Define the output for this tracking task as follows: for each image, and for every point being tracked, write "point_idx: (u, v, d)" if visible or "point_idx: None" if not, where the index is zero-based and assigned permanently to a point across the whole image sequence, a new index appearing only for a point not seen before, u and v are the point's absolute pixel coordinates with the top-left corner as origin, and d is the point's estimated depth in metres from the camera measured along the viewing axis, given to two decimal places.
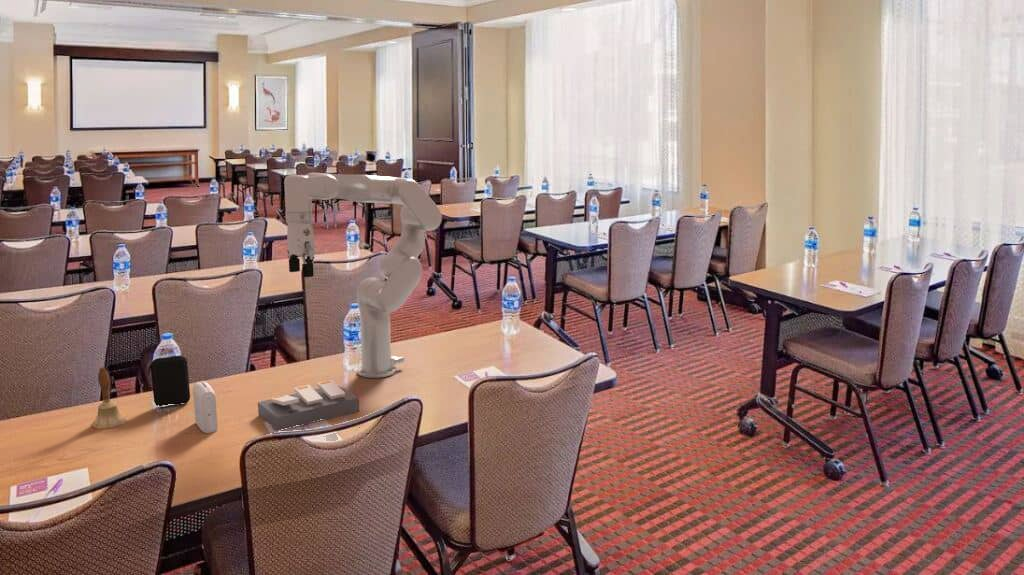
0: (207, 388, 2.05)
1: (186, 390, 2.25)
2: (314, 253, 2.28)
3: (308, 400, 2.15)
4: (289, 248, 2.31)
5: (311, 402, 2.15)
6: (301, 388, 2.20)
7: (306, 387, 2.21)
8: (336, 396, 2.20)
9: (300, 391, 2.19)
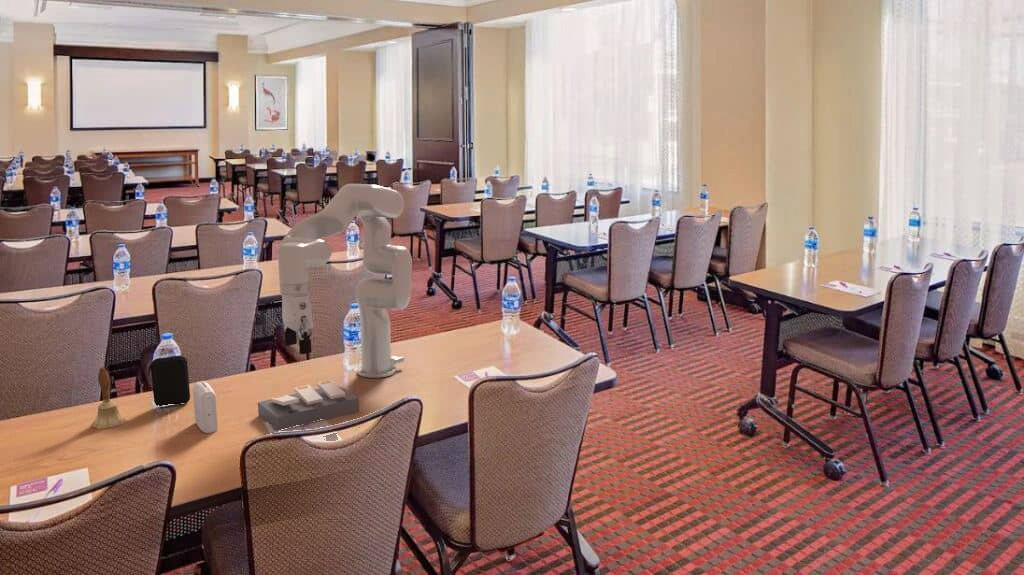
0: (207, 388, 2.05)
1: (186, 390, 2.25)
2: (312, 327, 2.09)
3: (308, 400, 2.15)
4: (284, 321, 2.13)
5: (311, 402, 2.15)
6: (301, 388, 2.20)
7: (306, 387, 2.21)
8: (336, 396, 2.20)
9: (300, 391, 2.19)
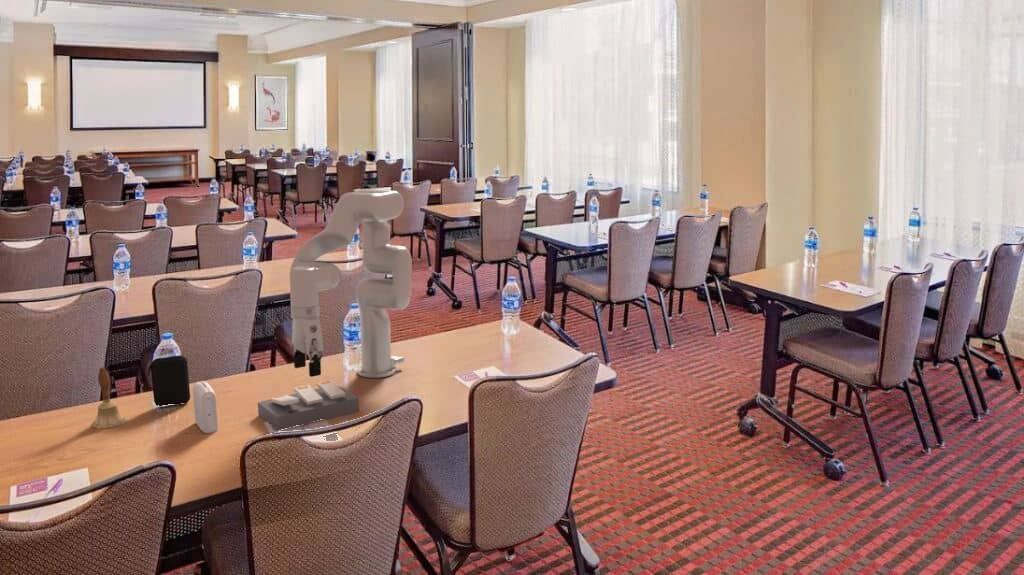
0: (207, 388, 2.05)
1: (186, 390, 2.25)
2: (321, 350, 2.12)
3: (308, 400, 2.15)
4: (294, 344, 2.15)
5: (311, 402, 2.15)
6: (301, 388, 2.20)
7: (306, 387, 2.21)
8: (336, 396, 2.20)
9: (300, 391, 2.19)
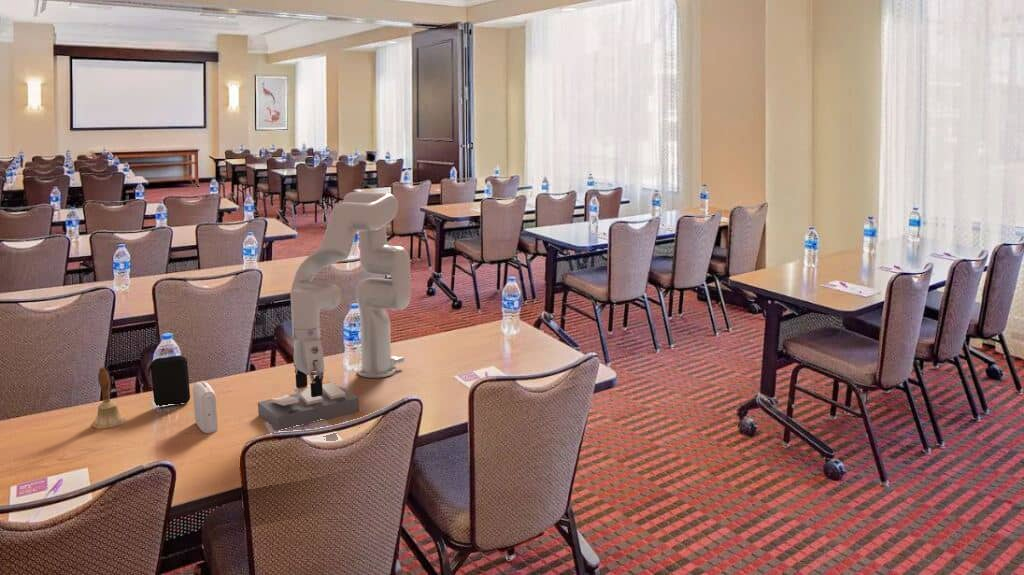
0: (207, 388, 2.05)
1: (186, 390, 2.25)
2: None
3: (308, 400, 2.15)
4: (296, 364, 2.17)
5: (311, 402, 2.15)
6: (301, 388, 2.20)
7: (306, 387, 2.21)
8: (336, 396, 2.20)
9: (300, 391, 2.19)
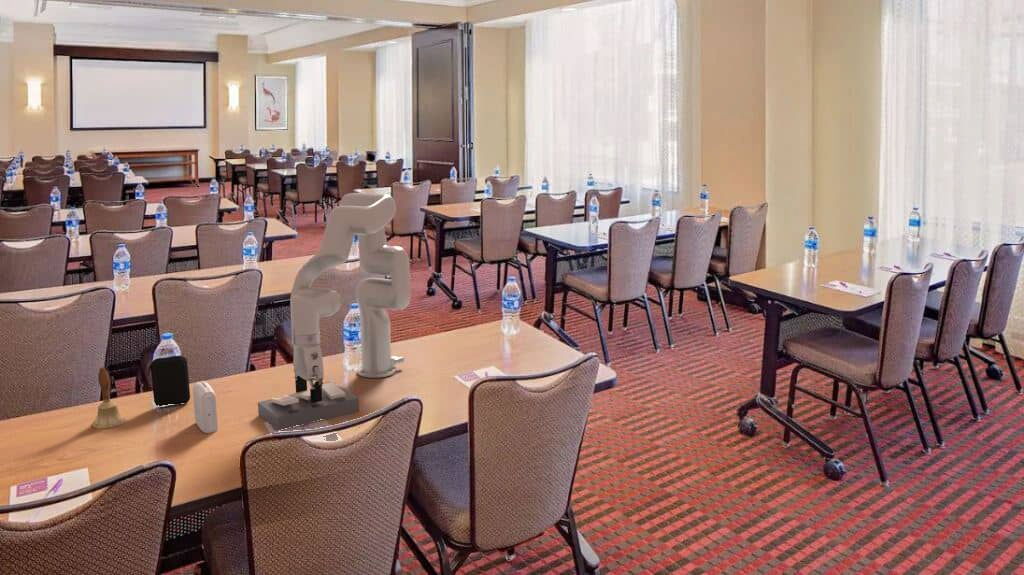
0: (207, 388, 2.05)
1: (186, 390, 2.25)
2: (323, 376, 2.14)
3: (308, 395, 2.15)
4: (296, 370, 2.17)
5: None
6: (301, 391, 2.21)
7: (306, 390, 2.22)
8: (336, 396, 2.20)
9: (300, 393, 2.19)
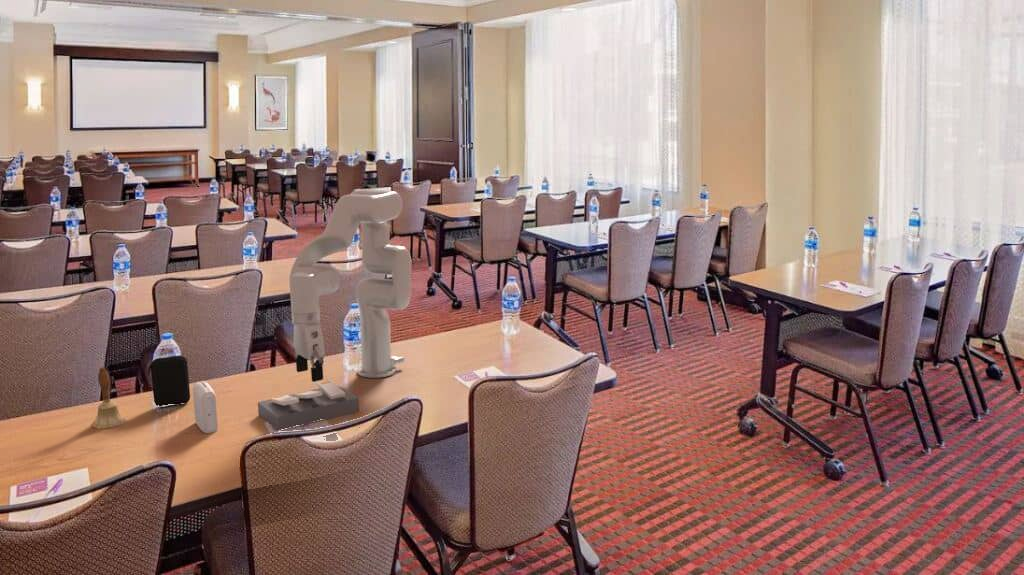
0: (207, 388, 2.05)
1: (186, 390, 2.25)
2: None
3: (308, 394, 2.15)
4: (296, 348, 2.16)
5: (310, 395, 2.14)
6: (301, 392, 2.21)
7: (306, 391, 2.22)
8: (336, 396, 2.20)
9: (300, 393, 2.19)
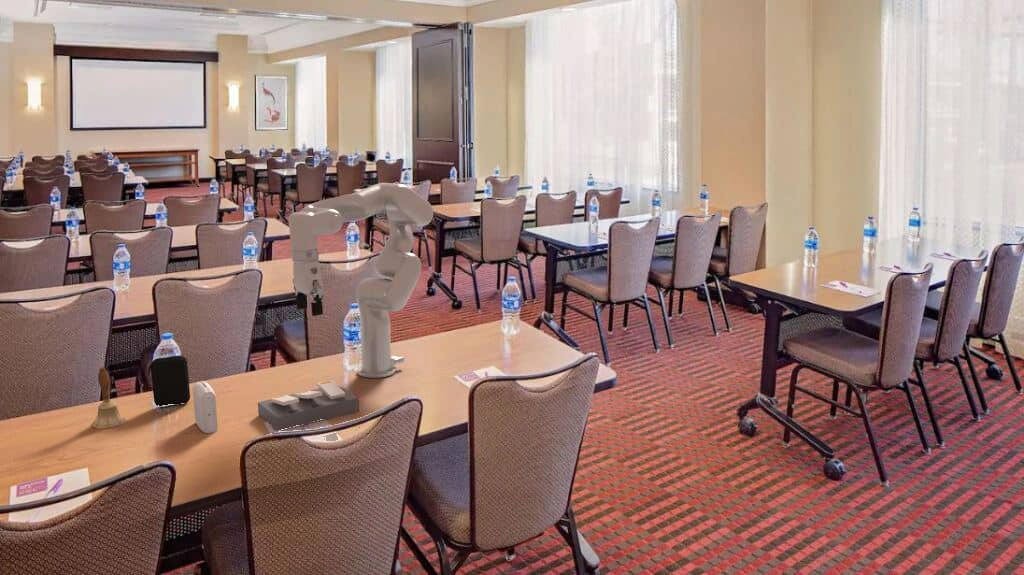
0: (207, 388, 2.05)
1: (186, 390, 2.25)
2: None
3: (308, 394, 2.15)
4: (296, 286, 2.27)
5: (311, 395, 2.14)
6: (301, 392, 2.21)
7: (306, 391, 2.22)
8: (336, 396, 2.20)
9: (300, 393, 2.19)
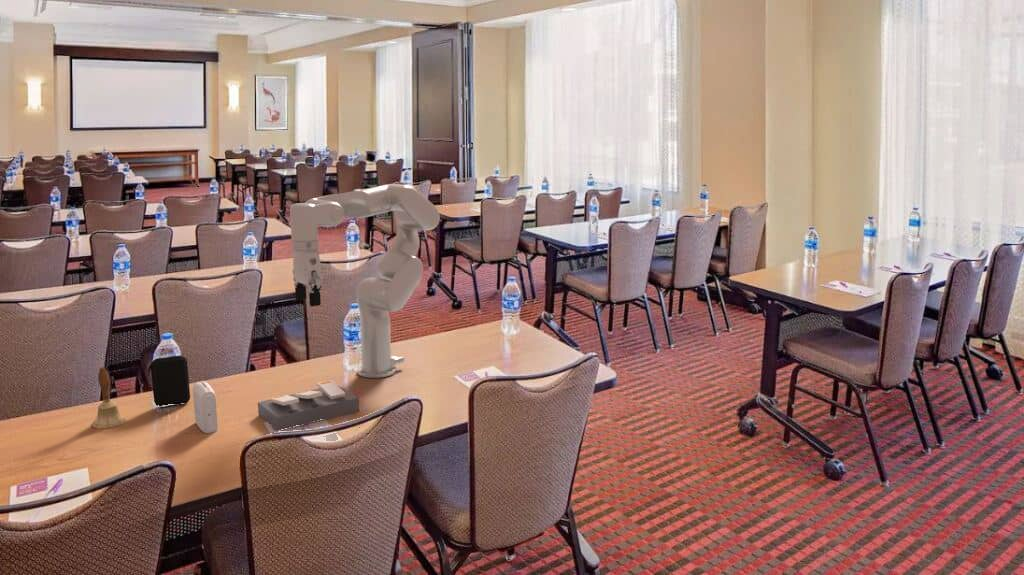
0: (207, 388, 2.05)
1: (186, 390, 2.25)
2: (321, 281, 2.26)
3: (308, 394, 2.15)
4: (295, 276, 2.29)
5: (311, 396, 2.14)
6: (301, 392, 2.21)
7: (306, 391, 2.22)
8: (336, 396, 2.20)
9: (300, 393, 2.19)
